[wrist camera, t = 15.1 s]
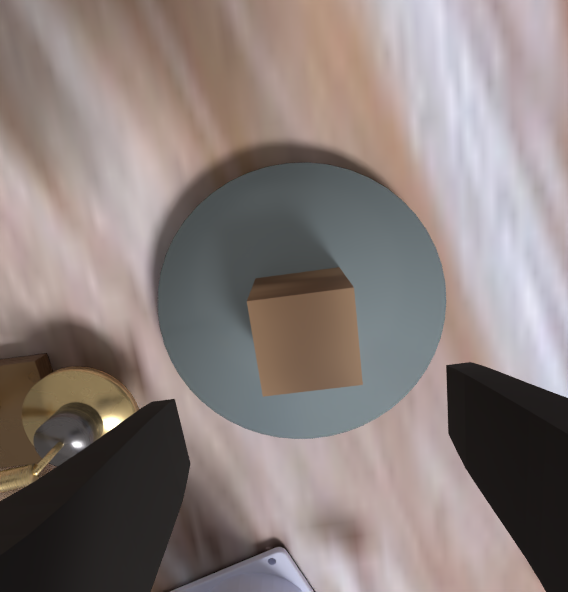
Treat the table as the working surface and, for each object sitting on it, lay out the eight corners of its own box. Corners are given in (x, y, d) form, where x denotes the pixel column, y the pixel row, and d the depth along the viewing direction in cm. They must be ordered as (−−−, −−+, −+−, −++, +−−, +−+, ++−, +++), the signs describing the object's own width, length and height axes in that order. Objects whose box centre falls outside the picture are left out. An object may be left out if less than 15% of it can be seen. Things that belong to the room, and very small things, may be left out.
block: (267, 355, 19) (262, 396, 15) (255, 278, 18) (246, 301, 14) (347, 345, 19) (362, 384, 15) (339, 267, 18) (353, 287, 14)
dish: (249, 462, 22) (247, 477, 21) (111, 251, 19) (99, 255, 18) (476, 359, 20) (488, 369, 19) (366, 106, 17) (372, 100, 16)
